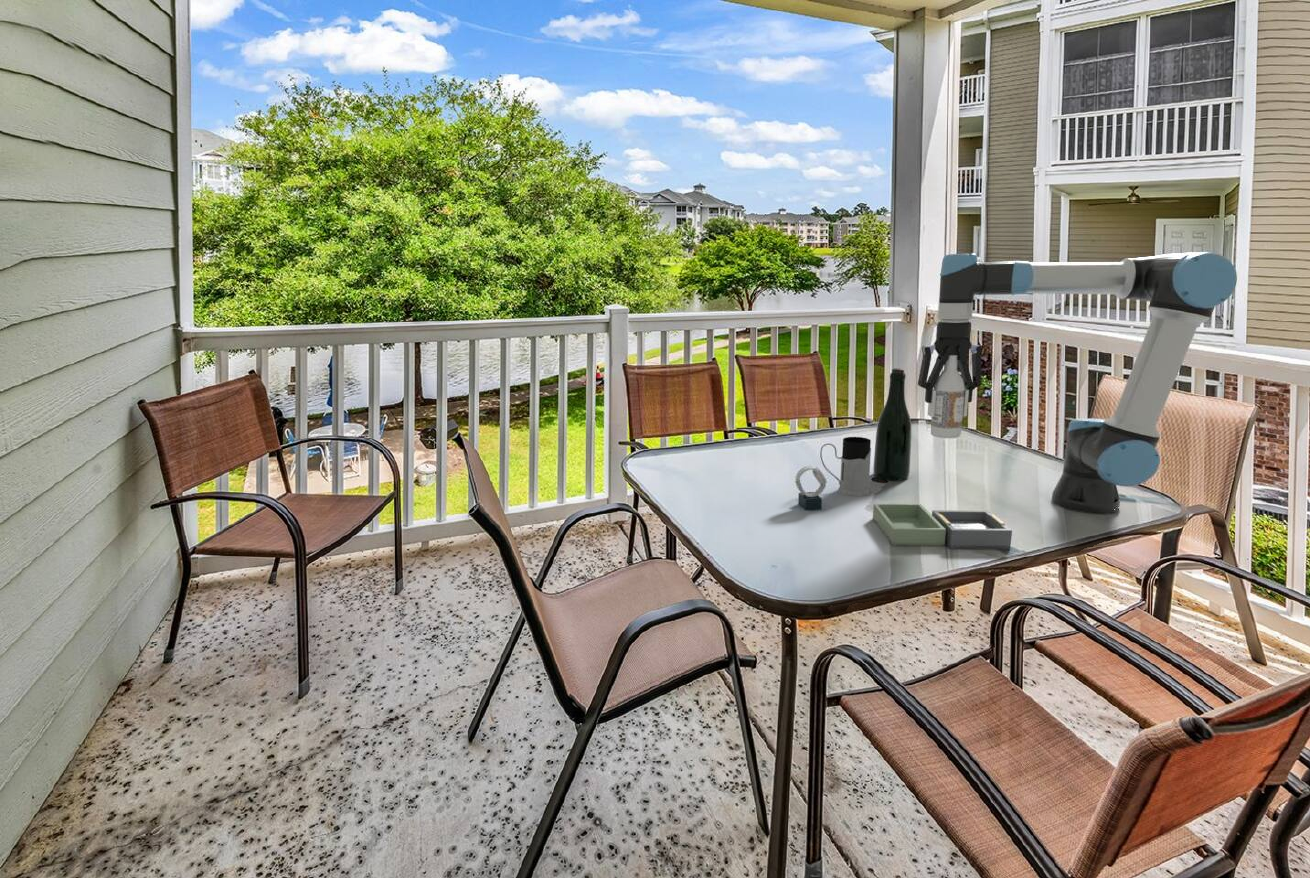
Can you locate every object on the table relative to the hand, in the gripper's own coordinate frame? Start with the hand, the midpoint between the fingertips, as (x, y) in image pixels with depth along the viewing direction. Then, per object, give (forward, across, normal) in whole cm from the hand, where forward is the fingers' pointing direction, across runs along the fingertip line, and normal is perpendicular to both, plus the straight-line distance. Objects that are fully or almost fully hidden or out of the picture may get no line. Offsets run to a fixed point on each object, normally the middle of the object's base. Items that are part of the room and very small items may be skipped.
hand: (946, 415), depth 166 cm
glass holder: (+26, +19, -21) cm, 39 cm away
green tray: (+26, +11, +11) cm, 30 cm away
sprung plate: (+25, -2, +15) cm, 29 cm away
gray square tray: (+26, -2, +15) cm, 30 cm away
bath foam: (+5, 0, 0) cm, 5 cm away
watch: (+26, +31, -7) cm, 41 cm away
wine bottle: (+26, +2, -35) cm, 44 cm away
